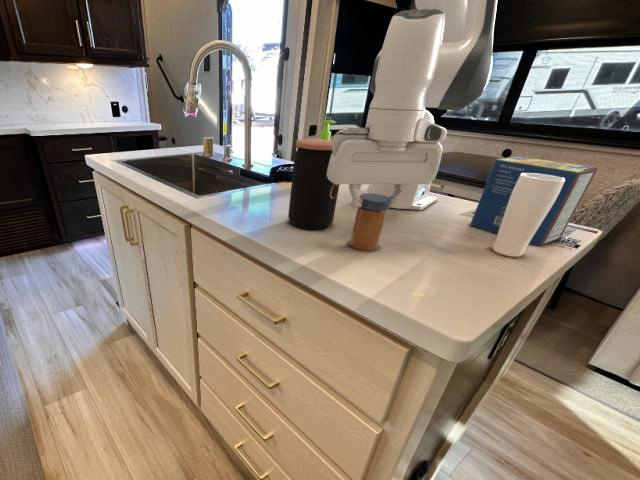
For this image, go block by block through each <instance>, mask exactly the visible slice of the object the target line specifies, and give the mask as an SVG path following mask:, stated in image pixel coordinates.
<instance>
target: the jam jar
mask: <svg viewBox="0 0 640 480" xmlns="http://www.w3.org/2000/svg"><path fill="white" fill-rule="evenodd" d="M387 211H388V210H385V211H373V210H368V209H364V208H362V207H361V208H356V214H355V218H354V223H353V227H352V233H351V238H350V243H349V245H350V246H351V247H352V248H355V249H357V250H358V251H359V250H360V251H367V252H368V251H370V252H371V251H375V250H377V249H378V246H379V242H380V238H381V234H382V230H383V226H384V223H385V218H386V214H387Z"/></svg>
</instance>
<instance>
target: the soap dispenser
mask: <svg viewBox="0 0 640 480" xmlns="http://www.w3.org/2000/svg"><path fill="white" fill-rule="evenodd" d="M321 121H322V123H323V129H322V130H320V131H319V138H318V139H322V140H331V135H332V131H330V125H336V124H337V121H335V120H333V119H322V120H321Z"/></svg>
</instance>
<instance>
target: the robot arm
mask: <svg viewBox="0 0 640 480" xmlns="http://www.w3.org/2000/svg"><path fill="white" fill-rule="evenodd" d="M414 3H415V7H416V9H409V10H407V9H405V10H401V11H399V12H397V13H396V14H393V16H392V17H391V20H390V22H389V24H388V28H387V31H386V34H385V36H384V37H385V38H384V41H383V44H382V48H381V49H380V51H379V52H378V54H377V55H376V58H375V60H374V63H373V68H372V74H371V78H370V84H369V91H370V92H371V94H372V95H373V98H372V100H371V102H370V104H369V108H368V113H367V118H366V123H365V127H343V128H342V129H341V130H339V131H337V132H336V133H335V134H334V135H333V138H332V140H333V141H332V154H331V157H330V161H329V165H328V169H327V178H328V179H329V181H330V182H332V183H333V184H340V185H348V190H349V192H350V195H351V197H352V199H351V203H350V206H351V208H353V209H358V208H361V207H362V203H363V200H364V199H362V198H360V195H359V192H358V191H360V190H361V188H362V185H368V186H367V189H366V191H363V192H362V194H365V193H373V194H380V195H384V196H387V197H389V198H390V199H391V201H390V205H389V208H388V209H398V210H399V209H400V210H413V211H414V210H415V211H422V210H424V209H425V208H427V207H429V206H430V205H431V204H434V203H435V202H436V200H437V197H435V196H433V195H430V190H431V187H432V184H433V183H432V182H433V181H434V180H435V179H436V177H437V175H438V171H439V167H440V164H441V160H442V155H443V146H442V144H441V143H442V142H444V141H445V139H446V137H447V134H448V131H447V129H446V128H445V127H443V126H440V125H439V124H437V123H435V120H434V116H433V115H432V113H431V112H430V111H429V110H427V109H426V108H433V109H435V108H436V109H438V110H446V111H451V112H458V111H461V110H463V109H464V108H466V107H468V106H470V105H471V104H472V103H474V102H476V101H477V100H478V99H479V98H481V97H482V95H483V93H484V91H485V89H486V87H487V86H488V84H489V81H490V77H491V74H492V70H493V69H492V68H493V45H494V32H495V31H494V30H495V22H496V14H497V6H498V0H414Z"/></svg>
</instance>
